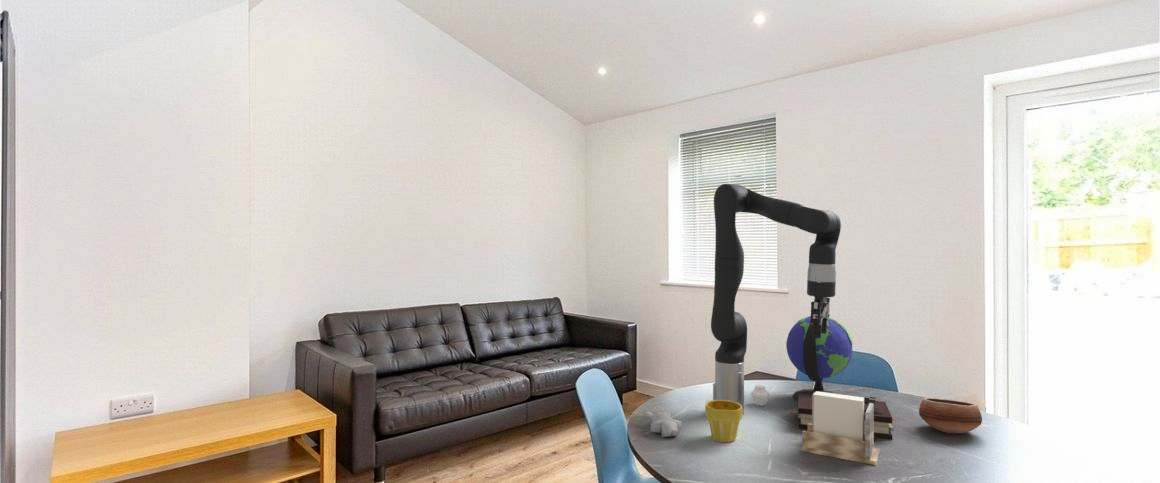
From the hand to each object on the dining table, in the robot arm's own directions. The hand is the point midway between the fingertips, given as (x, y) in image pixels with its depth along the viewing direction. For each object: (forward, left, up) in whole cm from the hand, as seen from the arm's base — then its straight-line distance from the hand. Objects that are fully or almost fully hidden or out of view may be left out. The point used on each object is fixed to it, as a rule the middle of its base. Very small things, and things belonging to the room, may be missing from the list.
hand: (819, 335), depth 162 cm
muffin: (-23, +24, -30) cm, 45 cm away
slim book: (+6, -8, -29) cm, 30 cm away
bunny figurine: (-41, -18, -30) cm, 54 cm away
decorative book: (+4, +16, -30) cm, 34 cm away
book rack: (+7, -8, -30) cm, 32 cm away
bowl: (+32, +26, -30) cm, 51 cm away
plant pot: (-23, -15, -30) cm, 41 cm away
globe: (-7, +42, -30) cm, 52 cm away
